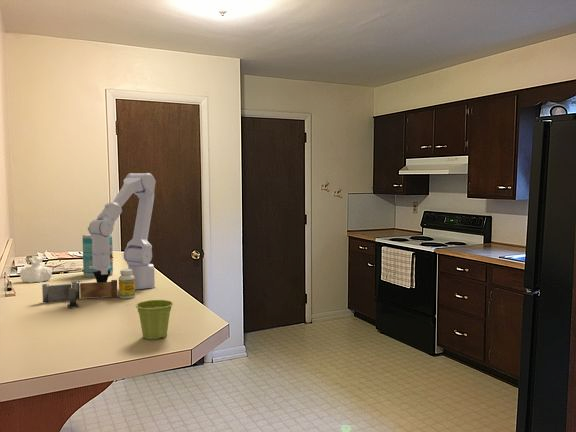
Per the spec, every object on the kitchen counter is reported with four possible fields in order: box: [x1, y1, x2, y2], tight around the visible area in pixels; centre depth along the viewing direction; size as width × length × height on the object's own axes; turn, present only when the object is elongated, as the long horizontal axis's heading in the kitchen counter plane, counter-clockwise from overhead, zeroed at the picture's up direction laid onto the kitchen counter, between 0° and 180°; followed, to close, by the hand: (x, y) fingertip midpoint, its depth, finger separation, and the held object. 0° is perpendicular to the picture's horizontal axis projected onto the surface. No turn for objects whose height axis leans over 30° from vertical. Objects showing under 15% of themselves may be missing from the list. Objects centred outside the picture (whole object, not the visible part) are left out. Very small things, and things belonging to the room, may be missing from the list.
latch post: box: [66, 288, 80, 310], centre depth 155 cm, size 3×3×6 cm
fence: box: [41, 280, 81, 304], centre depth 164 cm, size 12×2×6 cm, turn 119°
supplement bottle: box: [118, 268, 136, 299], centre depth 169 cm, size 5×5×10 cm
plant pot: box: [135, 299, 174, 340], centre depth 125 cm, size 9×9×9 cm
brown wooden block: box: [79, 279, 118, 299], centre depth 168 cm, size 12×2×6 cm, turn 104°
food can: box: [82, 233, 114, 279], centre depth 209 cm, size 12×12×18 cm
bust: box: [19, 255, 53, 284], centre depth 197 cm, size 12×8×11 cm
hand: (102, 291), depth 170 cm, fingers closed, pressing on brown wooden block
